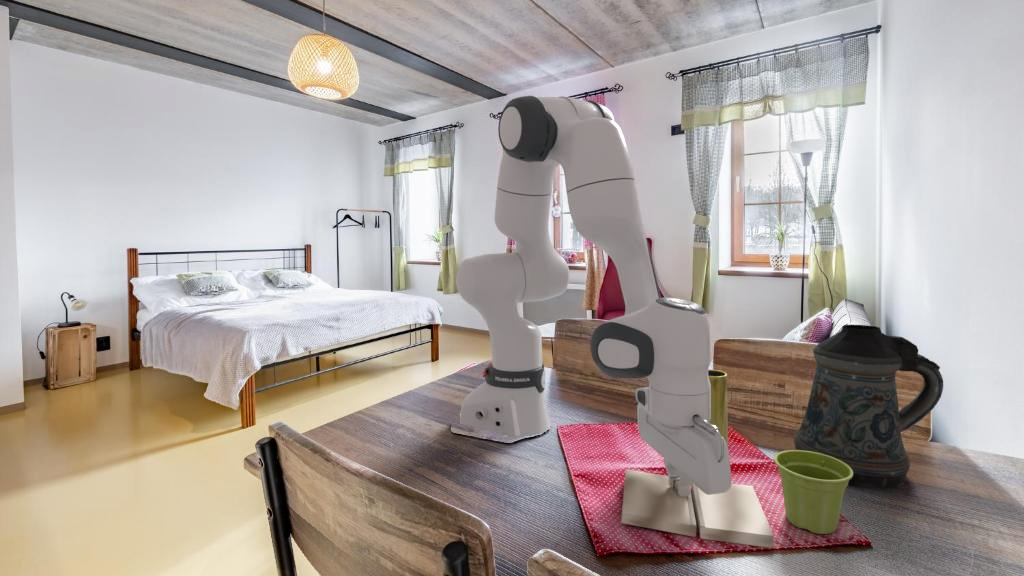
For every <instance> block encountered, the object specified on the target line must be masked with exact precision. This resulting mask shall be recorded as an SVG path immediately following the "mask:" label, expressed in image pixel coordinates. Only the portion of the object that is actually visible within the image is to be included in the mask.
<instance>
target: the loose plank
mask: <svg viewBox="0 0 1024 576" xmlns="http://www.w3.org/2000/svg"><path fill="white" fill-rule="evenodd" d="M624 474H625V475H624V486H623V495H622V496H623V497H622V499H623V500H622V509H621V520H620V521H621V524H624V525H629V526H637V527H642V528H647V529H651V530H657V531H662V532H667V533H673V534H678V535H683V536H689V537H694V538H696V536H697V527H698V526H697V519H696V516H695V515H696V513H695V508H694V502H693V496H692V490H690V495H689V496H684V497H681V496H680V495H679V494H678V493H677V492H676V491H675V490H673V489H672V488H671V487H670V486H669V479H668V475H664V474H657V473H650V472H647V471H646V472H645V471H641V470H640V471H638V470H633V469H625V472H624Z"/></svg>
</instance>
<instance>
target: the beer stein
mask: <svg viewBox="0 0 1024 576" xmlns="http://www.w3.org/2000/svg"><path fill="white" fill-rule="evenodd" d="M812 352H813V357H814V359H815V361H816V366H815V371H814V376H813V379H812V385H811V390H810V392H809V393H810V394H809V397H808V402H807V406H806V409H805V412H804V415H803V418H802V421H801V423H800V426H799V428H798V429H797V431H796V433H795V434H794V438H793V439H794V440H793V442H794V447H795V450H803V451H811V452H816V453H821V454H824V455H828V456H831V457H834V458H836V459H838V460H840V461H842V462H844V463H846V464H847V465H848V466H849V467H850V468H851V469H852V471H853V477H852V478H851V479H850V480H849V482H848V485H847V486H849V487H853V488H859V489H860V488H861V489H871V490H888V489H887V488H890V489H894V488H893V487H896V488H898V487H900V486H901V485H900V484H902V483H904V482H905V483H906V479H907V474H908V472H909V470H910V468H911V460H910V457H909V455H908V453H907V451H906V448H905V446H904V444H903V443H904V442H903V438H902V432H905V431H906V430H909V428H911V427H913V426H914V425H916V424H917V423H919V422H920V421H922V419H924V418H925V417H926V416H927V415H928V414H929V413H930V412H932V410H933V409H935V407H936V406H937V404H938V403H939V401H940V399H941V398H942V396H943V395H942V394H943V391H944V379H943V376H942V374H941V372H940V369H941V366H939V365H938V364H937V362H935V361H932V360H931V359H929V358H927V357H925V356H924V355H921V354H919V349H918V346H917V345H916V344H915V343H913V342H911V341H910V340H909V339H906V338H905V337H903V336H897V335H887V334H885V333H883V332H882V330H881V327H878V326H873V325H864V324H844V325H843V326H842V327H841V330H840V331H838V332H836V333H835V334H834V335H831V336H830V337H828V338H827V339H824V340H822V341H821V342H819V343H818V344H817V345H816V346H814V348H813V351H812ZM898 371H899V372H914V373H918V374H919V375H920V376H921V377H922V378H923V383H922V384H923V385H922V387H921V389H920V391H919V393H918V394H917V395H916V397H914V398H913V399H912V400H911V401H910V402H909V403H908V404H906V405H905V406H903V407H902V408H901V409H900V408H899V398H898V397H899V396H898V390H897V389H898V388H897V383H896V374H897V372H898ZM899 409H900V410H899ZM905 483H904V484H905ZM899 485H900V486H899ZM902 485H903V484H902ZM897 486H898V487H897Z"/></svg>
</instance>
